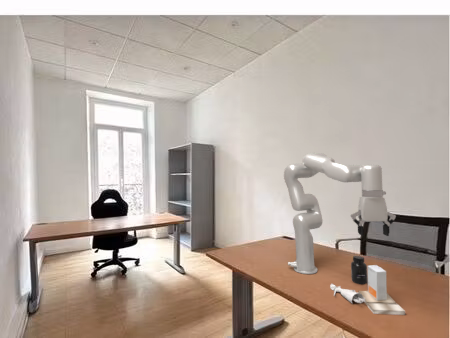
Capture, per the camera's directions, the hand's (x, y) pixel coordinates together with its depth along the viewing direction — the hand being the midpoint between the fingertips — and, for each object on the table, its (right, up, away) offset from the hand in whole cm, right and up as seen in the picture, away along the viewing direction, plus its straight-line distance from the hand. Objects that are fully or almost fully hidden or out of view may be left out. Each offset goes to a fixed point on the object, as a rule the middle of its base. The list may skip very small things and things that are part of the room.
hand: (373, 235), depth 102 cm
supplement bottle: (+4, -28, +17) cm, 33 cm away
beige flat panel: (+1, -27, -1) cm, 27 cm away
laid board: (-1, -27, -9) cm, 28 cm away
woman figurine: (-10, -28, +3) cm, 30 cm away
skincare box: (+1, -25, -1) cm, 25 cm away
